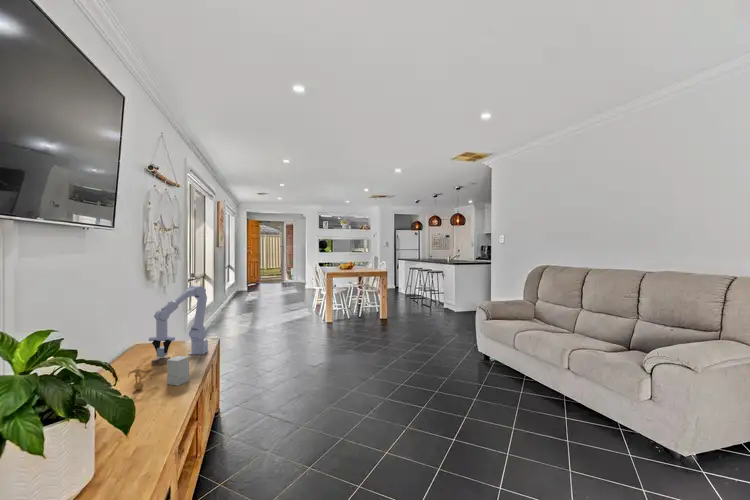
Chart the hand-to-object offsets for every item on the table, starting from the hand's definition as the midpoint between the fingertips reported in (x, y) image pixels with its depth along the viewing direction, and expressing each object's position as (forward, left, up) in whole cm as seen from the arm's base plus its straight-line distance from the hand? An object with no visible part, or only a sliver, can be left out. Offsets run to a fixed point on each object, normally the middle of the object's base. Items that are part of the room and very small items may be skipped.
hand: (162, 352), depth 214 cm
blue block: (0, 0, -2) cm, 2 cm away
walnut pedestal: (0, 0, -6) cm, 6 cm away
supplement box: (-26, +31, -6) cm, 41 cm away
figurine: (-12, +41, -6) cm, 43 cm away
